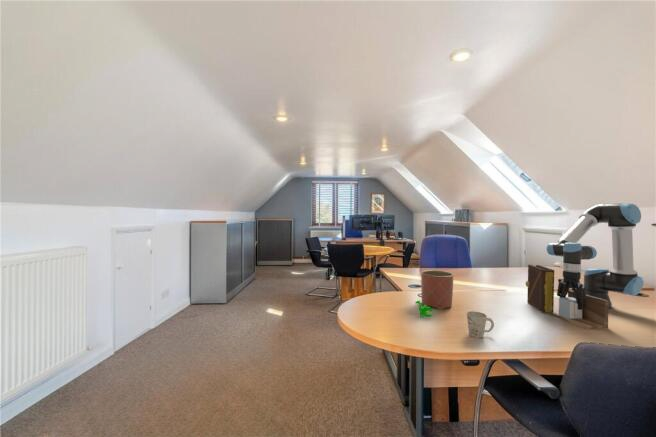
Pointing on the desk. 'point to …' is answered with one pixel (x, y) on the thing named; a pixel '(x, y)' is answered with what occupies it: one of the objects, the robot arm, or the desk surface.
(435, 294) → the planter
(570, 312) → the white block
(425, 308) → the figurine
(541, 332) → the desk surface
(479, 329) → the mug
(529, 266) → the book
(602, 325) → the wooden bookend
